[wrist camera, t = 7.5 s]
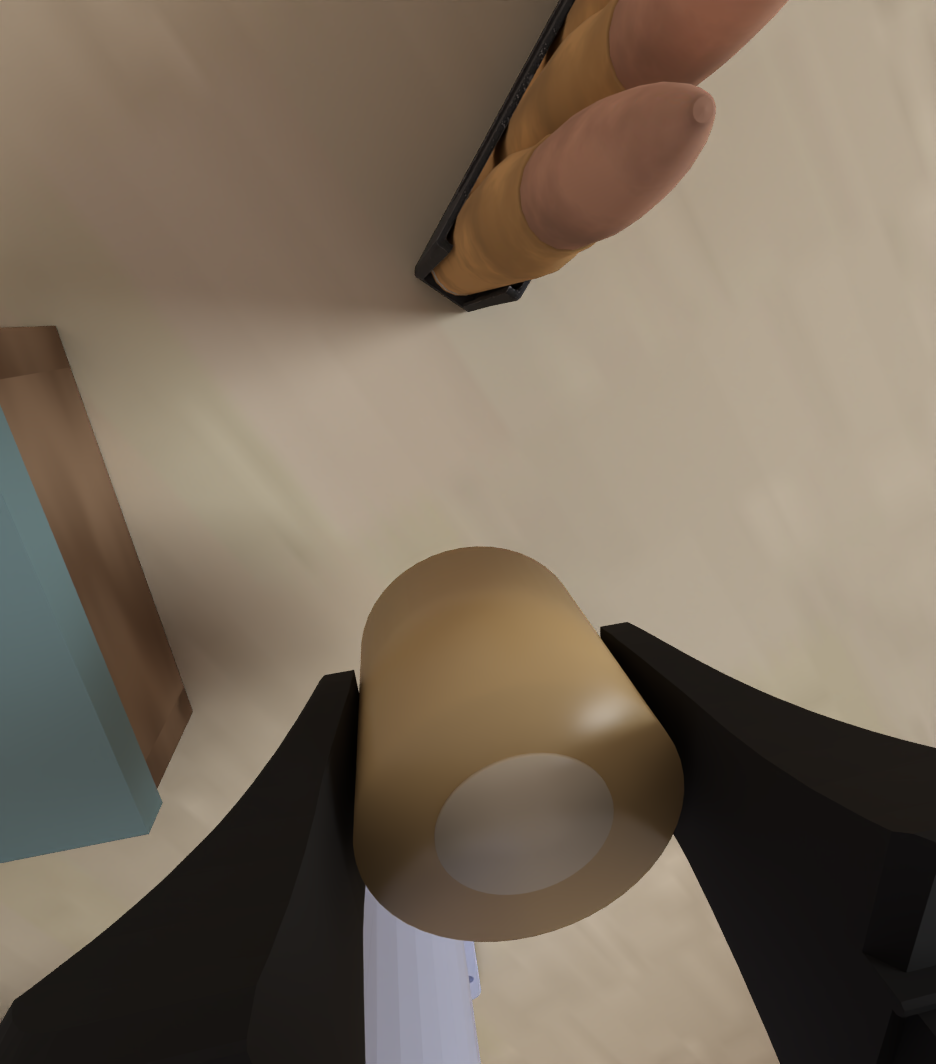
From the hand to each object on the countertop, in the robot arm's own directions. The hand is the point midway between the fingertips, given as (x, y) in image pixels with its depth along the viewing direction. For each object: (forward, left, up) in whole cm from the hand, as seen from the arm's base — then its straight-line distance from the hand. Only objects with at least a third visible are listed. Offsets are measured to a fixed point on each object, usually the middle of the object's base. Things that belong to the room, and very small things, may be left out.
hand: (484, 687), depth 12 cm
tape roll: (0, 0, -2) cm, 2 cm away
